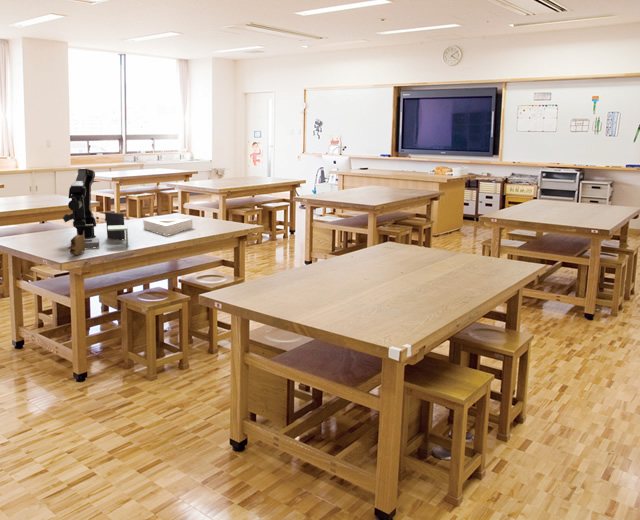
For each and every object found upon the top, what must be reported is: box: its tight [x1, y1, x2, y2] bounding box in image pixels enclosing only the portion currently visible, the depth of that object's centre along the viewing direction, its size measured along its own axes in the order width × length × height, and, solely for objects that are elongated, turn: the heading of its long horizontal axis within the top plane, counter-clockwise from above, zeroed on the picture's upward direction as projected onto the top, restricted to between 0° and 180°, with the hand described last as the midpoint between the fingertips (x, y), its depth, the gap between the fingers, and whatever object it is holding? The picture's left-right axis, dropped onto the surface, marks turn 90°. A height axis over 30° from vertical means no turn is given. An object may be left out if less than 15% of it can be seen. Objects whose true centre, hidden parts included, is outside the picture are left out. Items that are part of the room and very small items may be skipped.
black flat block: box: [104, 211, 126, 241], centre depth 357 cm, size 11×4×15 cm, turn 62°
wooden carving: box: [68, 234, 86, 256], centre depth 315 cm, size 16×5×10 cm, turn 3°
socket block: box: [83, 238, 100, 249], centre depth 336 cm, size 12×12×3 cm
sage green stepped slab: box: [108, 224, 129, 247], centre depth 340 cm, size 12×10×10 cm
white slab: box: [142, 218, 194, 236], centre depth 389 cm, size 30×26×6 cm
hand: (80, 236), depth 346 cm, fingers open, 9 cm apart
